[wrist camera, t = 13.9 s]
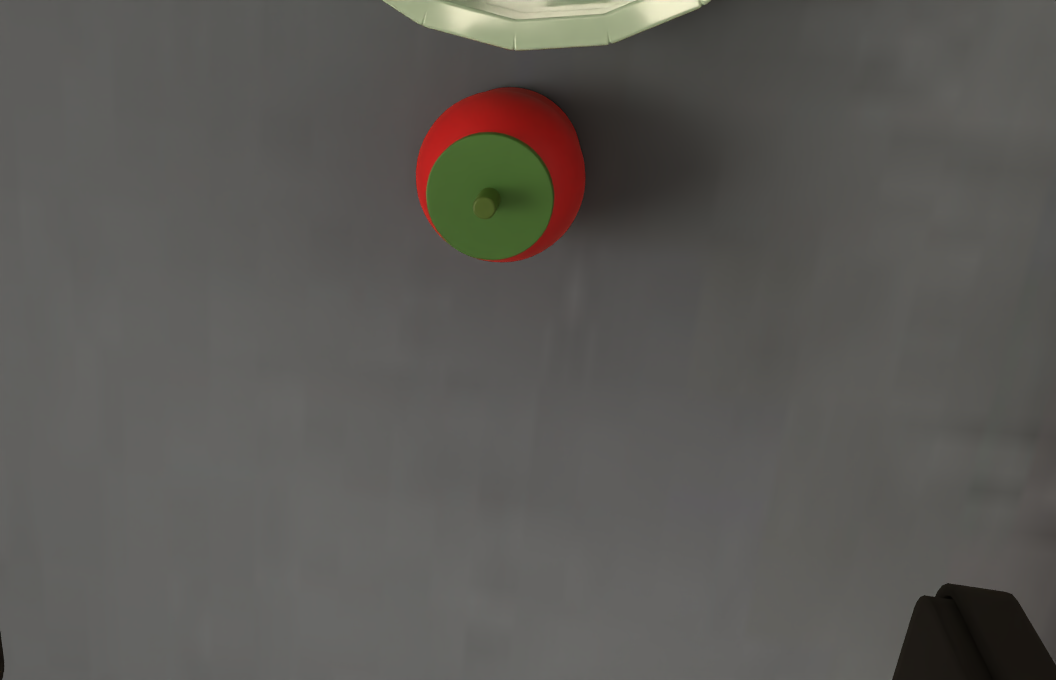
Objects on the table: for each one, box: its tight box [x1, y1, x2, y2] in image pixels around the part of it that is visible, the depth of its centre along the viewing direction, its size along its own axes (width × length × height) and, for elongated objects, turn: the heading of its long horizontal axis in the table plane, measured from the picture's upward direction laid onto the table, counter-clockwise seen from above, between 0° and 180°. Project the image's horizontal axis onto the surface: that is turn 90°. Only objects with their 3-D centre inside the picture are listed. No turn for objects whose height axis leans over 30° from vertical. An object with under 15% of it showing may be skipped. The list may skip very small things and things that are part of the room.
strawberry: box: [416, 87, 585, 262], centre depth 22 cm, size 4×4×5 cm
